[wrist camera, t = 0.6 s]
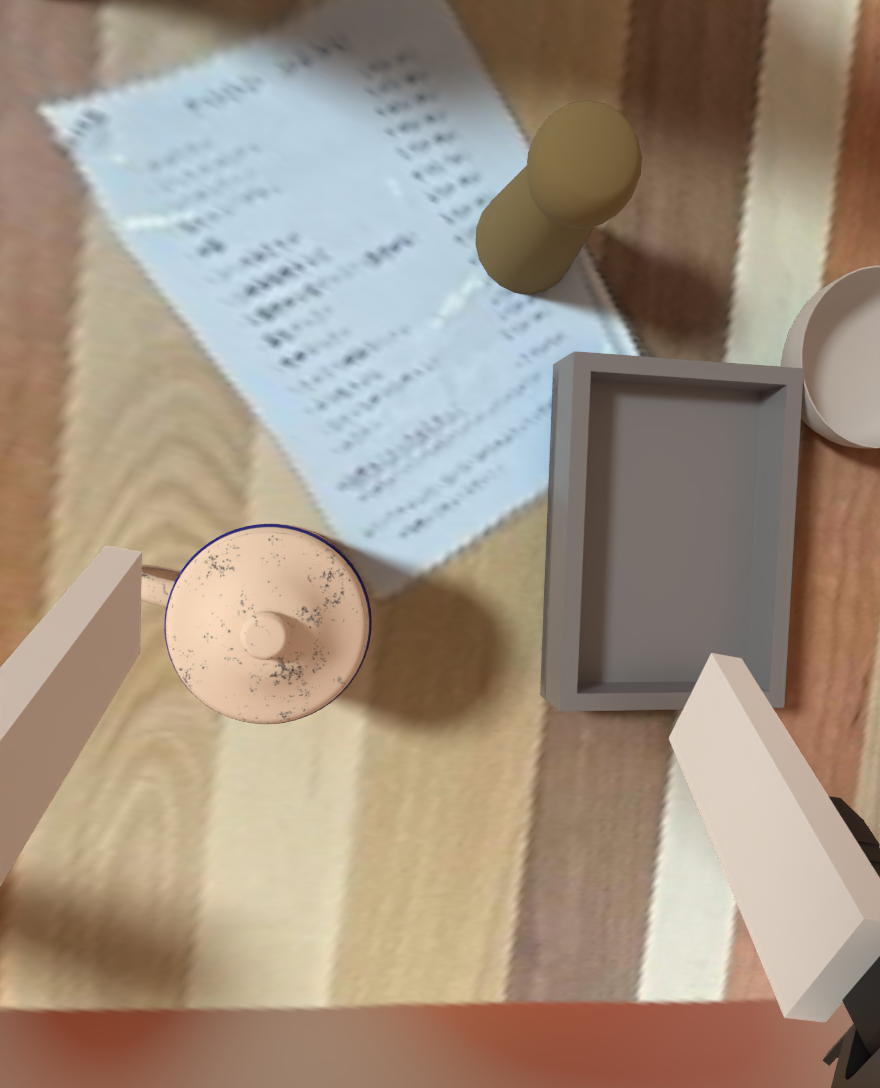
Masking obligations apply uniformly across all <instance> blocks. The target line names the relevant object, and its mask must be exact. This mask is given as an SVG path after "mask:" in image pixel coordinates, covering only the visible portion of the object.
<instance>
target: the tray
mask: <svg viewBox="0 0 880 1088" xmlns="http://www.w3.org/2000/svg"><path fill="white" fill-rule="evenodd" d="M803 371H804V368H790V367H777V366H763V365H750V364H736V363H723V362H709V361H696V360H682V359H669V358H655V357H641V356H628V355H614V354H601V353H587V352H573V353H571V354H569V355H568V356H566V357H565V358H563V359H561V360H560V361H558V362H556V363H555V364H553V389H552V414H551V439H550V463H549V488H548V513H547V538H546V563H545V588H544V613H543V638H542V663H541V688H540V695H541V696H542V697H543V698H544V699H545V700H547V701H548V702H549V703H550V704H551V705H552V706H554V707H555V708H556V709H557V710H558V711H620V710H681V709H684V707H685V705H686V703H687V701H688V699H689V697H690V695H691V693H692V691H693V689H694V687H695V685H696V683H697V681H698V679H699V676H700V674H701V672H702V670H703V668H704V666H705V664H706V662H707V660H708V658H709V656H710V654H711V653H715V654H721V655H726V656H732V657H737V658H742V660H743V662H744V663H745V665H746V666H747V668H748V669H749V671H750V673H751V674H752V676H753V677H754V679H755V681H756V682H757V684H758V685H759V687H760V689H761V690H762V692H763V693H764V695H765V696H766V698H767V700H768V701H769V703H770V704H771V706H772V708H784V705H785V687H786V669H787V652H788V634H789V617H790V599H791V582H792V564H793V547H794V529H795V511H796V494H797V476H798V459H799V441H800V424H801V406H802V389H803Z"/></svg>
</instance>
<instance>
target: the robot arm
mask: <svg viewBox="0 0 880 1088" xmlns="http://www.w3.org/2000/svg"><path fill="white" fill-rule="evenodd" d="M141 582H142V552H141V551H135V550H130V549H124V548H118V547H113V546H107V545H105V546H104V548H103V549H102V550H101V551H100V552H99V553H98V555H97V556H96V557H95V558H94V559H93V560H92V561H91V563H90V564H89V565H88V566H87V567H86V568H85V570H84V571H83V572H82V573H81V574H80V575H79V577H78V578H77V579H76V580H75V581H74V582H73V584H72V585H71V586H70V587H69V588H68V589H67V591H66V592H65V593H64V594H63V595H62V596H61V598H60V599H59V600H58V601H57V602H56V603H55V605H54V606H53V607H52V608H51V609H50V610H49V612H48V613H47V614H46V615H45V616H44V617H43V619H42V620H41V621H40V622H39V623H38V624H37V626H36V627H35V628H34V629H33V630H32V631H31V633H30V634H29V635H28V636H27V637H26V638H25V640H24V641H23V642H22V643H21V644H20V645H19V647H18V648H17V649H16V650H15V651H14V652H13V653H12V655H11V656H10V657H9V658H8V659H7V660H6V662H5V663H4V664H3V665H2V666H1V667H0V886H1V884H2V883H3V881H4V879H5V878H6V876H7V874H8V873H9V871H10V869H11V868H12V866H13V864H14V863H15V861H16V859H17V858H18V856H19V854H20V853H21V851H22V849H23V848H24V846H25V844H26V843H27V841H28V839H29V838H30V836H31V834H32V833H33V831H34V829H35V828H36V826H37V824H38V823H39V821H40V819H41V818H42V816H43V814H44V812H45V811H46V809H47V807H48V806H49V804H50V802H51V801H52V799H53V797H54V796H55V794H56V792H57V791H58V789H59V787H60V786H61V784H62V782H63V781H64V779H65V777H66V776H67V774H68V772H69V771H70V769H71V767H72V766H73V764H74V762H75V761H76V759H77V757H78V756H79V754H80V752H81V751H82V749H83V747H84V746H85V744H86V742H87V741H88V739H89V737H90V736H91V734H92V732H93V731H94V729H95V727H96V726H97V724H98V722H99V721H100V719H101V717H102V716H103V714H104V712H105V711H106V709H107V707H108V705H109V704H110V702H111V700H112V699H113V697H114V695H115V694H116V692H117V690H118V689H119V687H120V685H121V684H122V682H123V680H124V679H125V677H126V675H127V674H128V672H129V670H130V669H131V667H132V665H133V664H134V662H135V660H136V659H137V657H138V655H139V654H140V631H141ZM669 740H670V743H671V745H672V748H673V750H674V752H675V755H676V757H677V760H678V762H679V764H680V767H681V769H682V772H683V774H684V777H685V779H686V781H687V784H688V786H689V789H690V791H691V793H692V796H693V798H694V801H695V803H696V806H697V808H698V810H699V813H700V815H701V818H702V820H703V822H704V825H705V827H706V830H707V832H708V834H709V837H710V839H711V842H712V844H713V847H714V849H715V851H716V854H717V856H718V859H719V861H720V863H721V866H722V868H723V871H724V873H725V875H726V878H727V880H728V883H729V885H730V888H731V890H732V892H733V895H734V897H735V900H736V902H737V904H738V907H739V909H740V912H741V914H742V917H743V919H744V921H745V924H746V926H747V929H748V931H749V933H750V936H751V938H752V941H753V943H754V945H755V948H756V950H757V953H758V955H759V958H760V960H761V962H762V965H763V967H764V970H765V972H766V974H767V977H768V979H769V982H770V984H771V986H772V989H773V991H774V994H775V996H776V999H777V1001H778V1003H779V1006H780V1008H781V1011H782V1013H783V1015H784V1018H792V1019H801V1020H809V1021H818V1022H826V1021H827V1020H828V1019H829V1018H830V1016H831V1015H832V1014H833V1013H834V1012H835V1011H836V1010H837V1008H838V1007H839V1006H840V1005H841V1004H842V1002H843V1003H844V1005H845V1007H846V1009H847V1011H848V1013H849V1015H850V1017H851V1019H852V1021H853V1023H854V1024H853V1025H852V1026H851V1027H850V1028H849V1029H848V1031H847V1032H846V1033H845V1034H844V1035H843V1036H842V1038H840V1040H839V1041H838V1042H837V1043H836V1044H835V1045H834V1046H833V1048H832V1049H831V1050H830V1051H829V1052H828V1053H827V1055H826V1057H825V1058H824V1059H823V1061H824V1062H825V1063H827V1064H828V1065H830V1064H831V1063H832V1062H833V1061H834V1060H835V1059H836V1058H839V1059H838V1062H837V1066H836V1070H835V1074H834V1079H833V1083H832V1086H831V1088H880V848H879V845H880V844H879V843H878V841H877V840H876V838H875V837H874V835H873V834H872V832H871V831H870V829H869V828H868V826H867V825H866V823H865V822H864V820H863V819H862V818H861V817H860V816H859V815H858V814H856V813H855V812H854V811H853V810H852V809H851V808H850V807H849V806H848V805H847V804H846V803H845V802H844V801H843V800H842V799H841V798H836V797H830V796H828V795H827V793H826V792H825V790H824V789H823V787H822V785H821V784H820V782H819V781H818V779H817V777H816V776H815V774H814V773H813V771H812V770H811V768H810V766H809V765H808V763H807V762H806V760H805V758H804V757H803V755H802V754H801V752H800V750H799V749H798V747H797V746H796V744H795V743H794V741H793V739H792V738H791V736H790V735H789V733H788V731H787V730H786V728H785V727H784V725H783V723H782V722H781V720H780V719H779V717H778V716H777V714H776V712H775V711H774V709H773V708H772V706H771V704H770V703H769V701H768V700H767V698H766V696H765V695H764V693H763V692H762V690H761V689H760V687H759V685H758V684H757V682H756V681H755V679H754V677H753V676H752V674H751V673H750V671H749V669H748V668H747V666H746V665H745V663H744V662H743V660H742V658H737V657H732V656H726V655H721V654H715V653H711V654H710V656H709V658H708V660H707V662H706V664H705V666H704V668H703V670H702V672H701V674H700V676H699V679H698V681H697V683H696V685H695V687H694V689H693V691H692V693H691V695H690V697H689V699H688V701H687V703H686V705H685V707H684V709H683V711H682V713H681V715H680V717H679V719H678V721H677V723H676V725H675V727H674V729H673V731H672V733H671V735H670V737H669Z"/></svg>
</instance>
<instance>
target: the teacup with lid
mask: <svg viewBox="0 0 880 1088" xmlns="http://www.w3.org/2000/svg"><path fill="white" fill-rule="evenodd" d="M141 601H144V602H147V603H151V604H155V605H159V606H163V607H166V613H165V639H166V644H167V649H168V653H169V656H170V659H171V661H172V664H173V666H174V668H175V670H176V672H177V674H178V675H179V677H180V679H181V680H182V681H183V683H184V684H185V686H186V687H187V688H188V689H189V690H190V691H191V693H192V694H194V695H195V696H196V697H197V698H198V699H199V700H200V701H201V702H203V703H204V704H205V705H207V706H208V707H210V708H211V709H213V710H215V711H216V712H218V713H220V714H223V715H225V716H227V717H230V718H233V719H236V720H239V721H243V722H249V723H256V724H277V723H285V722H289V721H294V720H297V719H300V718H303V717H306V716H308V715H311V714H313V713H315V712H317V711H318V710H320V709H322V708H323V707H325V706H327V705H328V704H330V703H331V702H332V701H333V700H334V699H336V698H337V697H338V696H339V695H340V694H341V693H342V692H343V691H344V690H345V689H346V688H347V687H348V685H349V684H350V683H351V682H352V680H353V679H354V677H355V676H356V674H357V673H358V671H359V669H360V667H361V665H362V663H363V661H364V658H365V656H366V653H367V650H368V646H369V641H370V635H371V609H370V604H369V599H368V596H367V592H366V589H365V587H364V584H363V582H362V580H361V578H360V576H359V574H358V573H357V571H356V569H355V568H354V566H353V565H352V564H351V563H350V561H349V560H348V559H347V558H346V557H345V556H344V555H343V554H342V553H341V551H339V550H338V549H337V548H336V547H335V546H333V545H332V544H331V543H330V542H329V541H327V540H326V539H325V538H323V537H322V536H320V535H318V534H316V533H314V532H312V531H309V530H307V529H304V528H300V527H296V526H290V525H280V524H259V525H252V526H246V527H243V528H239V529H236V530H233V531H230V532H228V533H225V534H223V535H221V536H219V537H217V538H216V539H214V540H213V541H211V542H209V543H208V544H207V545H205V546H204V547H203V548H201V549H200V550H199V551H198V552H197V553H196V554H195V555H194V556H193V557H192V558H191V559H190V560H189V561H188V562H187V564H186V565H185V566H184V568H183V569H182V571H181V570H176V569H171V568H166V567H159V566H151V565H142V582H141Z"/></svg>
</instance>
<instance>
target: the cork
mask: <svg viewBox="0 0 880 1088" xmlns="http://www.w3.org/2000/svg"><path fill="white" fill-rule="evenodd" d="M641 161H642V156H641V151H640V146H639V142H638V137H637V135H636V133H635V131H634V129H633V127H632V126H631V124H630V122H629V121H628V120H627V119H626V118H625V117H624V116H623V115H622V114H621V113H620V112H619V111H618V110H616V109H614V108H612V107H610V106H608V105H606V104H604V103H598V102H591V101H582V102H576V103H571V104H568V105H566V106H565V107H563V108H561V109H560V110H558V111H556V112H555V113H553V114H552V115H551V116H549V117H548V119H547V120H546V121H545V122H544V123H543V125H542V126H541V127H540V128H539V129H538V131H537V133H536V135H535V137H534V139H533V142H532V144H531V147H530V150H529V152H528V160H527V166H526V167H525V168H524V169H523V170H522V171H521V172H520V173H519V174H518V175H517V176H516V177H515V178H514V179H513V180H512V181H511V182H510V183H509V184H508V185H507V186H506V187H505V188H504V189H503V190H502V191H501V192H500V193H499V194H498V195H497V196H496V197H495V198H494V199H493V200H492V201H491V202H490V204H489V205H488V206H487V207H486V208H485V210H484V211H483V212H482V215H481V217H480V220H479V222H478V225H477V228H476V248H477V252H478V256H479V260H480V262H481V263H482V265H483V267H484V268H485V270H486V272H487V274H488V275H489V276H490V277H491V278H492V279H493V280H495V281H496V282H497V283H498V284H499V285H500V286H502V287H504V288H506V289H508V290H511V291H513V292H516V293H525V294H533V293H537V292H542V291H546V290H547V289H549V288H550V287H552V286H554V285H555V284H557V283H558V282H559V281H560V280H561V278H562V277H563V276H564V275H565V273H566V272H567V271H568V269H569V268H570V266H571V264H572V263H573V261H574V259H575V258H576V256H577V254H578V253H579V251H580V249H581V248H582V246H583V244H584V243H585V241H586V239H587V237H588V236H589V234H590V232H591V231H592V229H593V227H594V226H597V225H600V224H603V223H604V222H606V221H607V220H609V219H611V218H612V217H614V216H615V215H617V214H618V213H619V212H620V211H621V210H622V208H623V207H624V206H625V205H626V204H627V202H628V201H629V200H630V199H631V197H632V195H633V193H634V190H635V188H636V185H637V183H638V180H639V177H640V175H641Z"/></svg>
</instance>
